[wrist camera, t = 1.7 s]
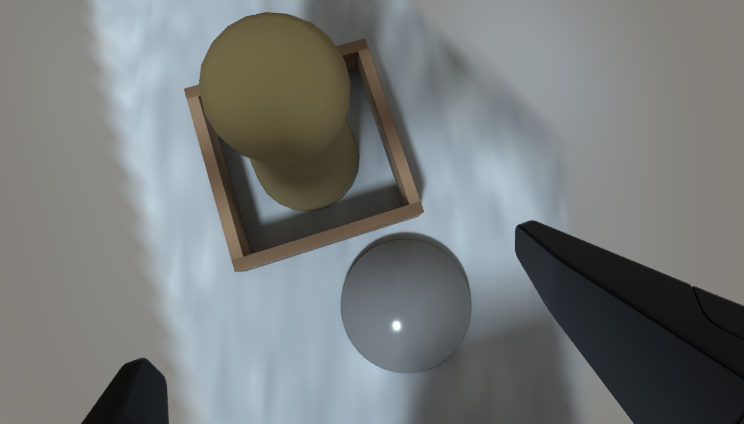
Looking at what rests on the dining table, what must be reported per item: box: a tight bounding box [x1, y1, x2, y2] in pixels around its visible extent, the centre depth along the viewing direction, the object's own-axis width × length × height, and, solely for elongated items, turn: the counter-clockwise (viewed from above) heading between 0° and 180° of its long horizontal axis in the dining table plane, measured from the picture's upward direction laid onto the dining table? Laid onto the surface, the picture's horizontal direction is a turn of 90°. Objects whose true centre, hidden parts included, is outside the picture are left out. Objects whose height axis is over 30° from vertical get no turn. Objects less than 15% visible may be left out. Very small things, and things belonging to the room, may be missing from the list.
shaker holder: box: [184, 39, 424, 272], centre depth 23 cm, size 10×10×2 cm
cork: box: [199, 12, 359, 211], centre depth 18 cm, size 6×6×11 cm
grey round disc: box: [341, 239, 471, 373], centre depth 23 cm, size 7×7×1 cm
